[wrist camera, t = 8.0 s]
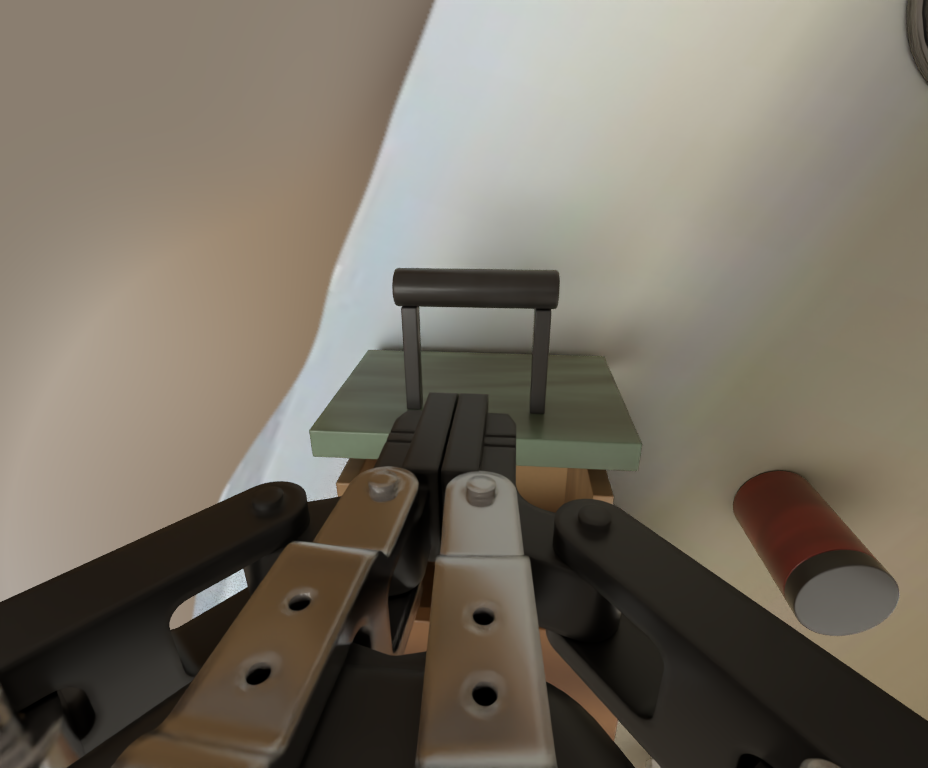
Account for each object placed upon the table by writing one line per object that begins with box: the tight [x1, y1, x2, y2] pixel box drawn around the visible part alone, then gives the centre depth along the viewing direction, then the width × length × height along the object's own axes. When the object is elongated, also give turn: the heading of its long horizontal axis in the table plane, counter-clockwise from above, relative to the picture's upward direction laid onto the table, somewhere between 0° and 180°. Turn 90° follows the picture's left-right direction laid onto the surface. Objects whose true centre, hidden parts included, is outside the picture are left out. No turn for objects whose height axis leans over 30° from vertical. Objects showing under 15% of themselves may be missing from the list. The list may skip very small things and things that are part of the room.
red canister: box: [733, 471, 899, 636], centre depth 27 cm, size 4×4×7 cm
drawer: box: [309, 268, 642, 608], centre depth 25 cm, size 20×12×9 cm, turn 0°
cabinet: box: [404, 607, 618, 741], centre depth 30 cm, size 16×14×11 cm
